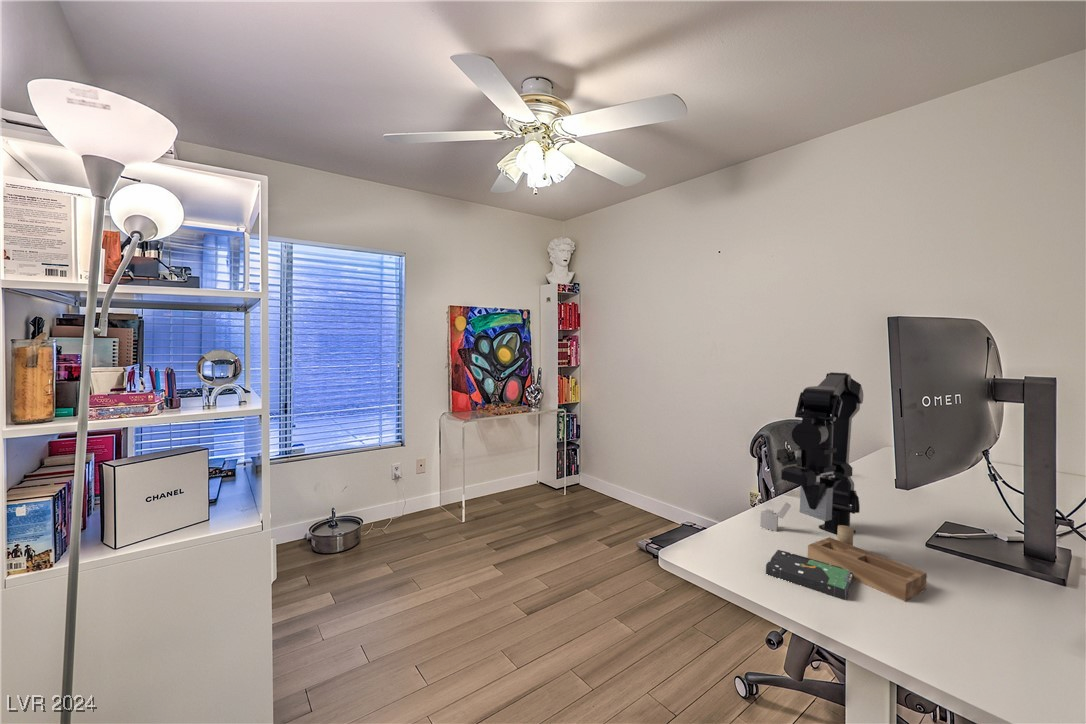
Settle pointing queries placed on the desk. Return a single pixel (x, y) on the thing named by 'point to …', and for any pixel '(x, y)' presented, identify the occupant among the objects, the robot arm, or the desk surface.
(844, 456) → the robot arm
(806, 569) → the disk drive
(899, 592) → the socket board
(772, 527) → the lighter
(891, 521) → the desk surface
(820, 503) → the tall grey rectangular prism
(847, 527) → the round dowel
